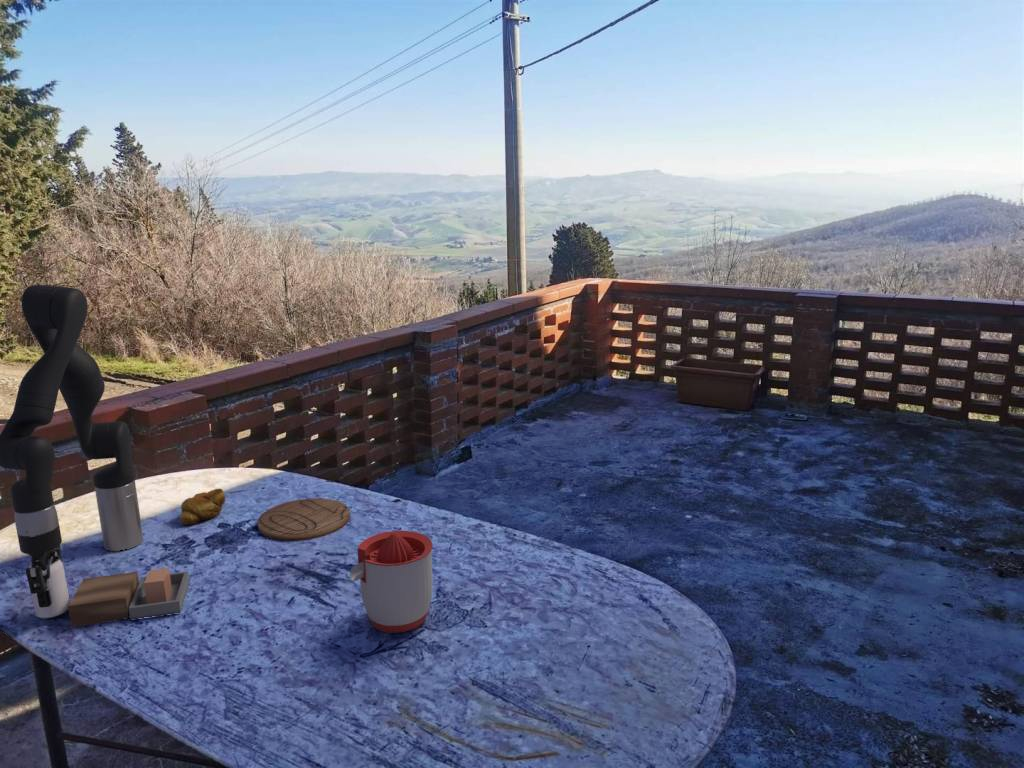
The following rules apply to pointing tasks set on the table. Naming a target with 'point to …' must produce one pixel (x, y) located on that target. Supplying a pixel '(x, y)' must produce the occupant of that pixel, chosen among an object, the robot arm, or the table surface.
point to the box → (172, 606)
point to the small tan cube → (158, 586)
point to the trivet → (303, 519)
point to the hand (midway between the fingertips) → (50, 597)
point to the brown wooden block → (103, 599)
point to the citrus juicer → (395, 579)
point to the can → (54, 592)
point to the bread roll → (202, 506)
